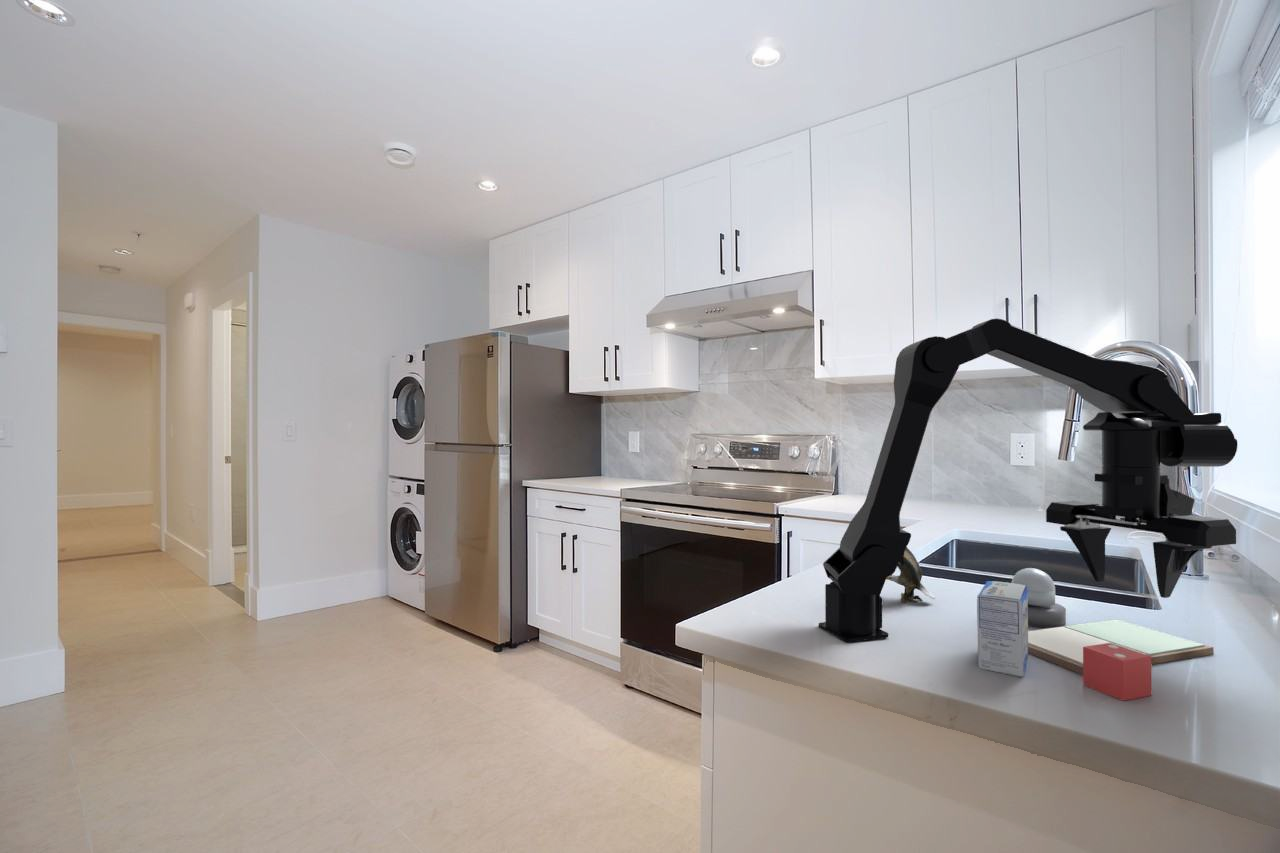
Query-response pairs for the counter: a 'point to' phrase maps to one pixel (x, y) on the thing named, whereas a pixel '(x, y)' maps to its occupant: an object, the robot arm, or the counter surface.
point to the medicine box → (1003, 628)
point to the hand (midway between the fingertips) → (1130, 589)
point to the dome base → (1047, 616)
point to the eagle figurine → (910, 578)
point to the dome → (1036, 586)
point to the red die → (1117, 671)
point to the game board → (1070, 640)
